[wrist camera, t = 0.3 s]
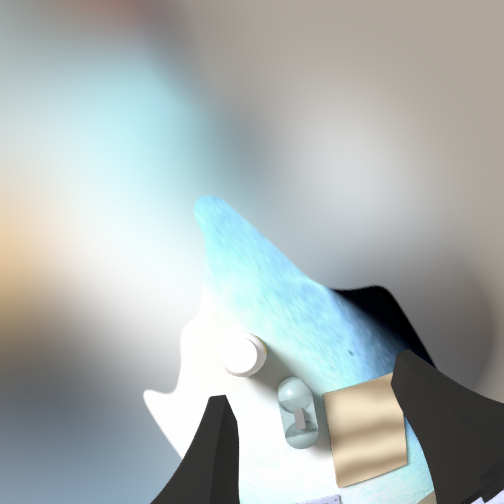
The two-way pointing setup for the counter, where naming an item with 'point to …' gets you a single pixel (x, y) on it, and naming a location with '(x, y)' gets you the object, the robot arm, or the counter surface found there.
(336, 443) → the cutting board
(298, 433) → the grey capsule with tab
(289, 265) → the counter surface
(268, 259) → the counter surface
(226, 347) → the supplement bottle
